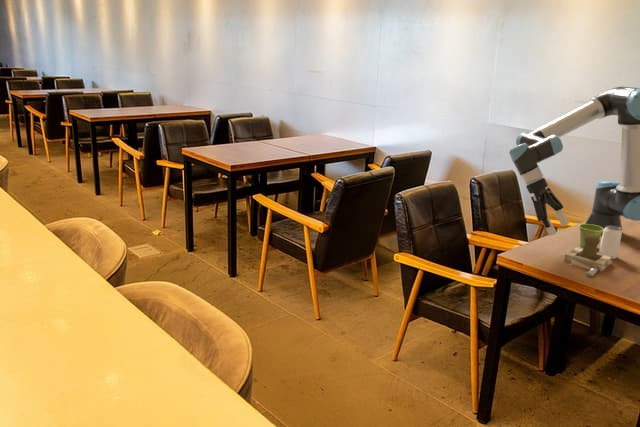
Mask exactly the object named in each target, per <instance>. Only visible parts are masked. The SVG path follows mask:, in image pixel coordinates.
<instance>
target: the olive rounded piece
mask: <svg viewBox="0 0 640 427" xmlns="http://www.w3.org/2000/svg"><path fill="white" fill-rule="evenodd" d="M600 239H601V238H600ZM600 239H599V237H598V236H595V235H586V236H585V238H584V242H585V245H584V248H583V251H582V253H581V256H580V257H584V258H587V259H591V260H594V261H596V257H597V252H598V246H599V244H600V243H601V240H600Z"/></svg>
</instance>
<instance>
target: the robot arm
mask: <svg viewBox="0 0 640 427" xmlns="http://www.w3.org/2000/svg"><path fill="white" fill-rule="evenodd" d="M610 116H617V125H619V127H621V151H620V178H619V179H620V180H599V181H598V182H597V185H596V188H595V193H594V199H593V203H592V208H591V212H590V214H589V216H588V217H587V219H586V221H585V223H584V224H592V225H597V226H600V227H603V228H604V229H605V227H606V226H607V225H612V226H617V227H620V228H621V229H622V230H621V231H622V232H623V226H622V219H621V217H624V219H627V220H632V221H636V222H637V221H640V87H631V86H630V87H629V86H617V87H613V88H611V89H610V88H609V89H607V90H605V91H603V92H602V93H599V94H597V95H595V96H593V97H591V98H590V99H589V100H588V102H586V103H585V104H583V105H581V106H579V107H577V108H575V109H574V110H572V111H570V112H568V113H566V114H564V115H562V116H560V117H558V118H556V119H554V120H552V121H550V122H548V123H547V124H544V125H542V126H540V127H539V128H537V129H535V130H532V131H530V132H521V133H519V135H518V136H517V137H516V140H515V144H516V146H514V147H513V148H511V149H509V152H508V153H509V155H510V158H511V160H512V162H513V164H514V166H515V168H516V170H517V172H518V173H519V176H520V178H521V180H522V182H523V184H524V185H525V187H526V190H527V192H528V193H529V194H530V195H532V196H531V197H530V199H531V201H532V203H533V207H534V211H535V215H536V219H537V221H538V222H542V224H543V226H544V228H545V230H546V232H547V235H548V236H550V237H551V236H554V235H557V231H556V229H555V227H554V225H553V223H552V222H551V219H550V217H548V213H547V205H548V206H549V207H551V208H552V210H554V214H555V216H556V217H557V220H558V222H559V224H560V225H561V227H564V226H567V225H570V223H569V221H568V220H567V217H566V215H565V213H564V211H563V210H562V209H564V206H563V204H562V202H561V201H560V200H559V199H558V197H556V195H555V194H554V193H553V191H552V190H551V188H550V187H548V186H549V184H548V182H547V180H546V179H545V177H544V174H543V173H542V171H541V169H540V167H539V165H538V163H540V162H543V161H545V160H547V159H549V158H551V157H553V156H556V155H557V154H560V153H561V152H562V151H563V149H564V145H563V142H562V140H561V137H563V136H565V135H568V134H569V133H571V132H573V131H575V130H577V129H578V128H581V127H584V126H585V125H587V124H588V123H589V124H590V123H591V122H593V121H595V120H596V119H599V120H602V119H603V118H606V117H610ZM602 235H603V233H602V234H601V236H602Z"/></svg>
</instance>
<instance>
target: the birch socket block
mask: <svg viewBox="0 0 640 427" xmlns="http://www.w3.org/2000/svg"><path fill="white" fill-rule="evenodd" d="M582 251H583V248H582V247H580V246H576V247H575V248H573V249H572V250H570V251H569V252H567V253H566V254H564V258H563V263H566V264H569V265H571V266H572V265H573V266H576V267H580V268H581V269H582V268H583V269H587V270H588V271H589V270H591V269H592V268H593V267H595V266H597V267H599V271H598V272H597V273H601V272H603V271H604V270H605V269H606V268H608V267H609V266H610V265H611V264H612V261H613V259H612V257H613V256H609V255H606V254H602V253H599V251H597V257H596V261H594V260H591V259H587V258H584V257H580V256H581V253H582Z"/></svg>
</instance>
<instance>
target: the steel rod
mask: <svg viewBox="0 0 640 427" xmlns="http://www.w3.org/2000/svg"><path fill="white" fill-rule="evenodd" d="M598 271H599V267H597V266H595V267H593V268H592V269H591V270H589V269H588V271H587V272H586V277H587V278H591V277H593V276H594V275H595V274H597V273H599V272H598Z"/></svg>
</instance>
